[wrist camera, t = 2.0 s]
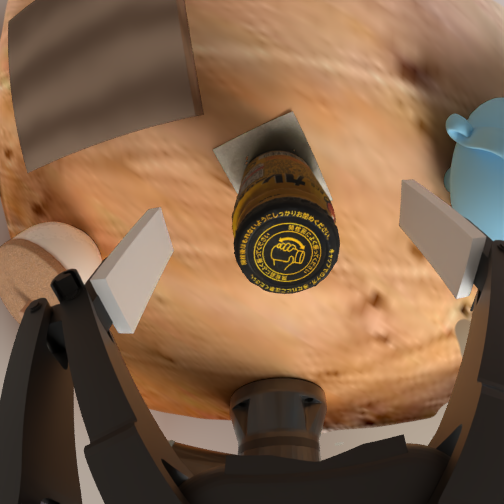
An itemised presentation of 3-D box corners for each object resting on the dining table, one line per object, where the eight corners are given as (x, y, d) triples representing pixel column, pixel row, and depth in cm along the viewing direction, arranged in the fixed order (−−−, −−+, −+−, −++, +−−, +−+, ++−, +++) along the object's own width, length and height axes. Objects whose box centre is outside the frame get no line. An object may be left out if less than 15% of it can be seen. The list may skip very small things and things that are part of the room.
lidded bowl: (34, 195, 25) (-32, 241, 15) (124, 215, 26) (63, 280, 16) (45, 282, 31) (2, 337, 21) (124, 309, 32) (89, 380, 22)
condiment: (258, 231, 26) (255, 323, 16) (212, 149, 23) (169, 193, 12) (332, 199, 24) (378, 276, 14) (292, 111, 21) (322, 119, 10)
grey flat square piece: (203, 114, 21) (195, 115, 18) (45, 164, 23) (27, 173, 20) (176, -53, 12) (167, -66, 10) (25, 23, 14) (8, 21, 12)
